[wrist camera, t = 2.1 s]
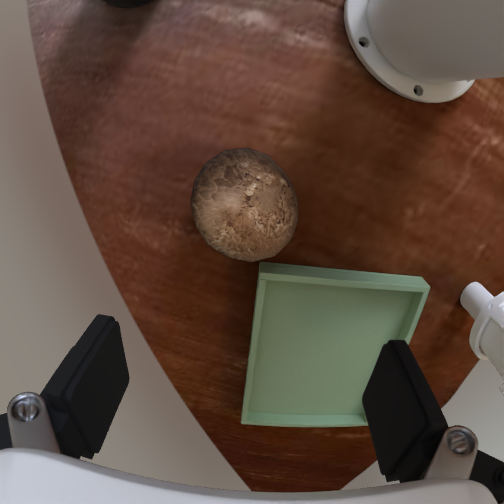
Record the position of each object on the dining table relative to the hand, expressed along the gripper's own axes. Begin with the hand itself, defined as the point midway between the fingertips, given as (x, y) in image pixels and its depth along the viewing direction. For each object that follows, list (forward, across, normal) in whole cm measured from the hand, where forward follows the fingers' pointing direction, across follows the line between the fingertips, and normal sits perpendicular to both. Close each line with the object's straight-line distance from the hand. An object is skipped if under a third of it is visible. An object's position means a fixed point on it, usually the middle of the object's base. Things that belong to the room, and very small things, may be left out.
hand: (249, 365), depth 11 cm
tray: (+16, -8, +13) cm, 22 cm away
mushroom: (+16, +1, -2) cm, 17 cm away
